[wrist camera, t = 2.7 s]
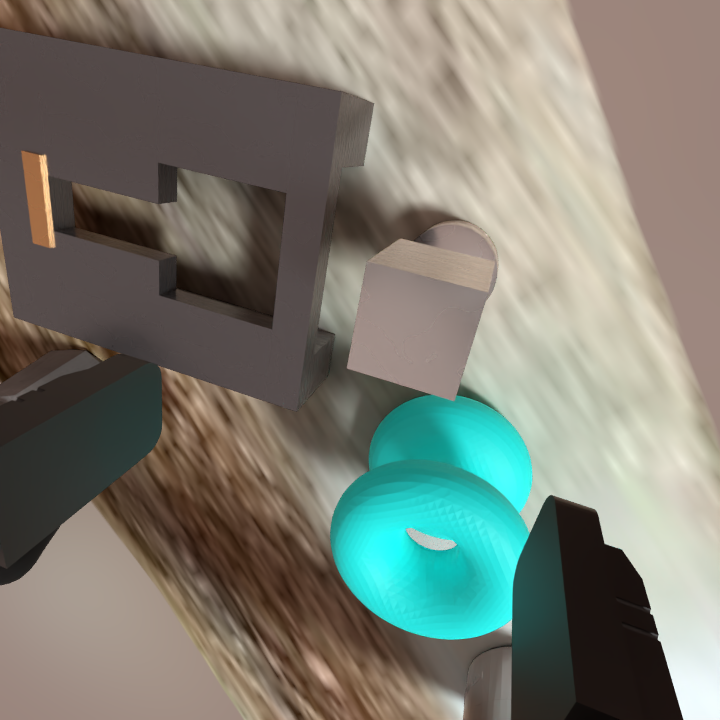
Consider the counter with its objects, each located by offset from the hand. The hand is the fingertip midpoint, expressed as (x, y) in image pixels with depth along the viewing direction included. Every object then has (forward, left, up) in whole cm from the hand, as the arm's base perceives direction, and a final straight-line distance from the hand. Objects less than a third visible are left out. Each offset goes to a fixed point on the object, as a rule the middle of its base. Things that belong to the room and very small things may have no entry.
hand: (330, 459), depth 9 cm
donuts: (-3, +12, -19) cm, 23 cm away
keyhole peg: (0, 0, -19) cm, 19 cm away
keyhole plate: (+16, +1, -19) cm, 25 cm away
